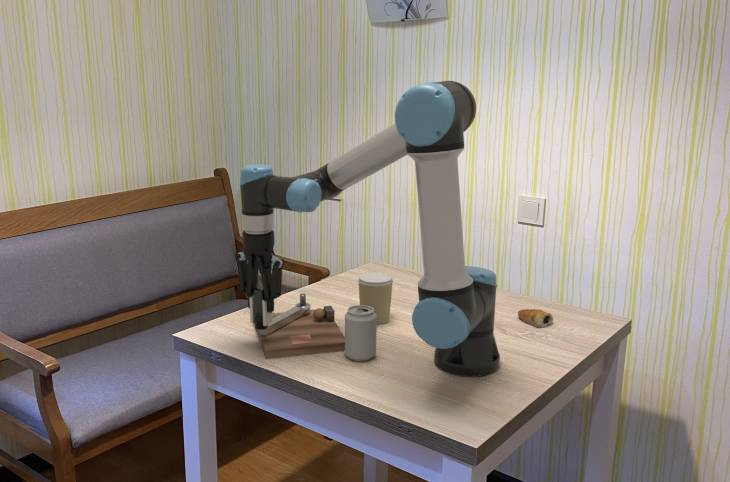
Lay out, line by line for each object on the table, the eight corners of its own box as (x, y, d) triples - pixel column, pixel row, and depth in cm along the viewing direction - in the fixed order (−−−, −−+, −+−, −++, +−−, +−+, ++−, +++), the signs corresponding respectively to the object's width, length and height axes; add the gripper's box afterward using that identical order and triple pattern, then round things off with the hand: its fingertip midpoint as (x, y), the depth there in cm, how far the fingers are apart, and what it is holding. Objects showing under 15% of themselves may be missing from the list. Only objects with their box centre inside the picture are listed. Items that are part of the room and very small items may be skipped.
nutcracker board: (348, 350, 173) (348, 330, 171) (265, 358, 168) (265, 338, 166) (327, 315, 195) (326, 297, 194) (253, 322, 190) (253, 303, 188)
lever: (301, 308, 193) (300, 266, 190) (313, 311, 191) (312, 268, 188) (251, 335, 175) (249, 289, 172) (264, 338, 173) (262, 292, 170)
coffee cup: (393, 313, 197) (394, 272, 193) (391, 326, 188) (391, 283, 184) (359, 312, 197) (360, 271, 194) (356, 324, 188) (356, 281, 185)
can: (381, 353, 171) (382, 306, 168) (366, 365, 164) (366, 316, 161) (355, 347, 174) (355, 301, 171) (338, 358, 168) (338, 310, 165)
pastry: (511, 319, 193) (512, 306, 192) (527, 314, 198) (528, 301, 197) (539, 330, 186) (541, 316, 185) (555, 324, 191) (556, 310, 190)
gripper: (295, 231, 168) (297, 323, 174) (241, 222, 176) (245, 311, 182) (276, 238, 162) (279, 334, 168) (221, 229, 169) (225, 321, 176)
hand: (261, 322), depth 175 cm, fingers closed on lever, 3 cm apart
